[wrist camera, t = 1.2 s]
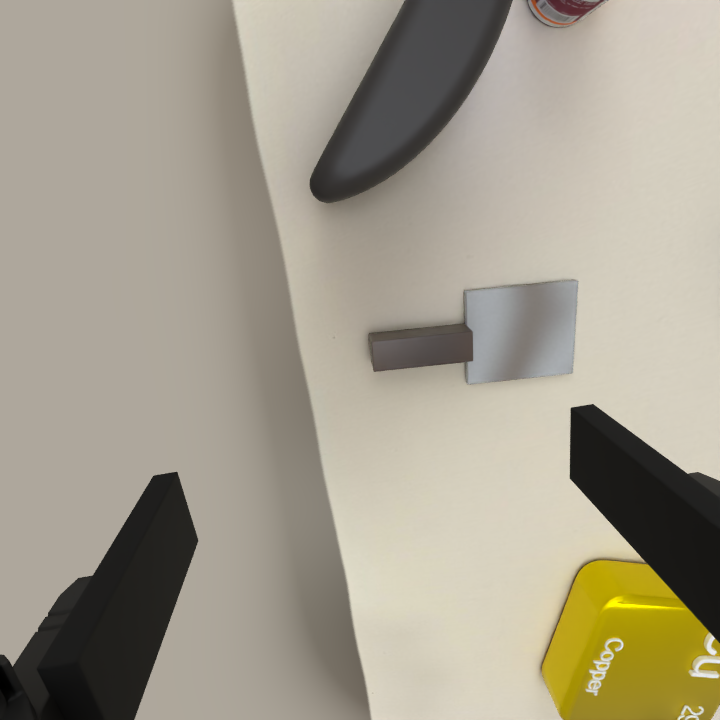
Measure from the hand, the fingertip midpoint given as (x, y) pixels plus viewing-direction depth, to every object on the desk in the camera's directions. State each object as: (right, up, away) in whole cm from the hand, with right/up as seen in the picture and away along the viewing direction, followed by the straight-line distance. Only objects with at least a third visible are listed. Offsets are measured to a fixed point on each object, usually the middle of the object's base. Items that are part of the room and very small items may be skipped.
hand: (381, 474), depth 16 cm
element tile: (+25, -21, +29) cm, 44 cm away
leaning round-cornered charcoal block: (+1, +21, +13) cm, 25 cm away
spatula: (+8, +6, +19) cm, 21 cm away
